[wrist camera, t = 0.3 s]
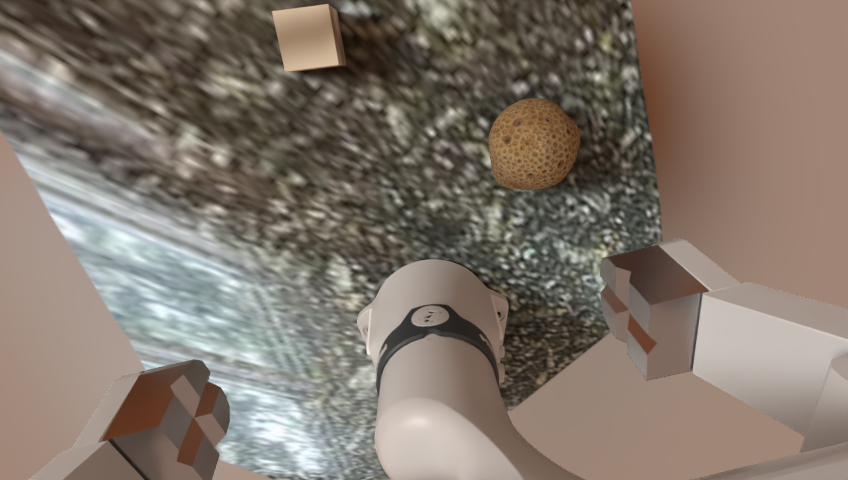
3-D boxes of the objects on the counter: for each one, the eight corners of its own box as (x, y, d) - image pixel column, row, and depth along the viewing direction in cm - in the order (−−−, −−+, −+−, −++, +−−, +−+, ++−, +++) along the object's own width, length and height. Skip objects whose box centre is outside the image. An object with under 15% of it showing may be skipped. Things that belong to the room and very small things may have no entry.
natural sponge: (566, 94, 47) (604, 100, 38) (559, 177, 50) (592, 201, 41) (480, 95, 47) (497, 102, 38) (478, 179, 50) (493, 204, 41)
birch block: (346, 65, 46) (338, 64, 41) (298, 71, 46) (285, 71, 41) (337, 11, 44) (328, 4, 39) (287, 17, 44) (272, 11, 39)
